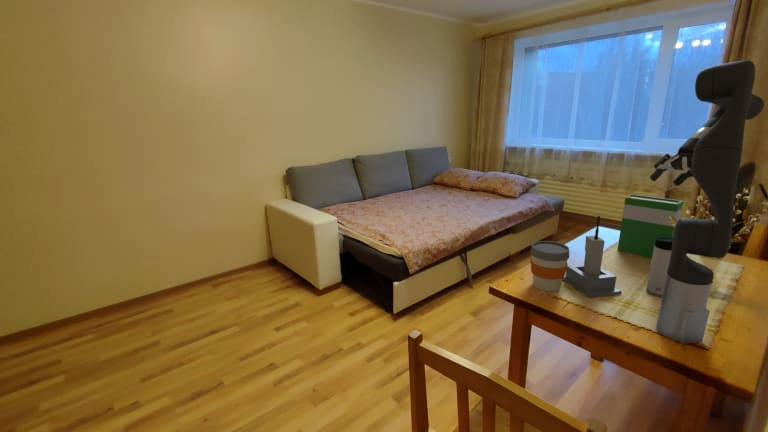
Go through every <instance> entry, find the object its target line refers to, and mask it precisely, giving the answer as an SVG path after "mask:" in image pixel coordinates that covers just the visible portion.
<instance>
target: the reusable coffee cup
mask: <svg viewBox="0 0 768 432" xmlns="http://www.w3.org/2000/svg"><path fill="white" fill-rule="evenodd" d="M530 255H531V258H530V271H531V273H532V283H533V284H532V285H533V286H534V288H536V289H538V290H540V291H544V292H557V291H559V290H560V289H561V286H562V283H563V277H564V276H565V274H566V269H567V266H568V265H569V264H568V259H570V247H569V246H568V245H566V244H564V243H561V242H558V241H552V240H541V241H540V240H538V241H534V242H533V243H531V247H530Z"/></svg>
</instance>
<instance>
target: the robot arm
mask: <svg viewBox="0 0 768 432" xmlns="http://www.w3.org/2000/svg"><path fill="white" fill-rule="evenodd" d="M755 79H756V65H755V63H754V61H753V60H750V59H745V60H739V61H732V62H726V63H720V64H717V65H712V66H708V67H706V68H703V69H702V70H700V71H699V72H698V74H697V76H696V78H695V84H694V91H695V96H696V98H697V99H698V100H699V101H700V102H705V103H709V104H713V105H716V109H715V111H714V112H713V114H712V115H711V116H710V118H709V119H708V120H707V121H706V123H704V124H703V125H702V126H701V127H700V128H699V129H698V130H697V131H696V132H694V133H693V134H692V135H690V137H689V138H688V139H687V140H686V141H685V142H684V143H683V144H681V146H680V147H678V149H677V153H676V154H675V155H670V154H669V153H666V154H664V156H662V157H661V158H660V159H659V160H658V161H657V162H655V164H654V165H653V167H654V169H655V170H654V172H652V174H650V177H649V178H650V181H652V182H656V181H657V180H658V179H659V178H660V177H661V176H662V175H663V174H664V173H666V172H672V171H673V170H679V171H682V173H680V174H679V175H678V176H677V177H675V179H674V180H673V181H672V183H673V185H674V186H676V187H679V186H681V185H682V184H683V183H684V182H685V181H686V180H687V179H690V178H694V180H695V181H696V183H697V184H698V185H699V187H700V189H702V191H703V192H704V194H705V195H706V197H707V199H708V200H709V204H710V205H711V208H712V211H713V215H714V218H713V219H714V220H710V219H700V218H691V217H680V219H679V220H678V221H677V223H676V225H675V228H674V234H673V242H672V250H671V256H670V261H669V266H668V270H667V275H666V280H665V285H664V290H663V295H662V297H661V299H660V307H659V311H658V316H657V322H656V325H655V328H656V330H657V332H658V333H659V334H660V335H662V336H664V337H666V338H667V339H669V340H672V341H675V342H678V343H680V345H687V344H693V343H694V344H696V343H701V342H703V341H704V336H705V331H706V327H707V325H708V319H709V316H710V309H707V305H708V301H709V296H710V292H711V289H712V285H713V280H714V276H715V273H714V272H713V270H712V269H711V268H709V267H708V266H706V265H705V264H702V263H699V262H697V261H695V260H694V259H692V258H690V256H688V255H689V254H690V255H694V256H701V257H709V258H716V259H721V258H724V257H726V255H728V252H729V251H730V248H731V243H732V234H733V222H734V221H733V220H734V206H735V205H734V204H735V196H736V189H737V188H736V187H737V184H738V177H739V172H740V169H741V161H742V154H743V146H744V136H745V126H746V122H747V121H749V120H752V119H754V118H756V117H758V115H760V114H761V113H762V112H763V110H764V107H765V101H764V99H763V98H761V97H760V96H758V95H756V94H754V93H753V89H754V84H755ZM687 254H688V255H687Z"/></svg>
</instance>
